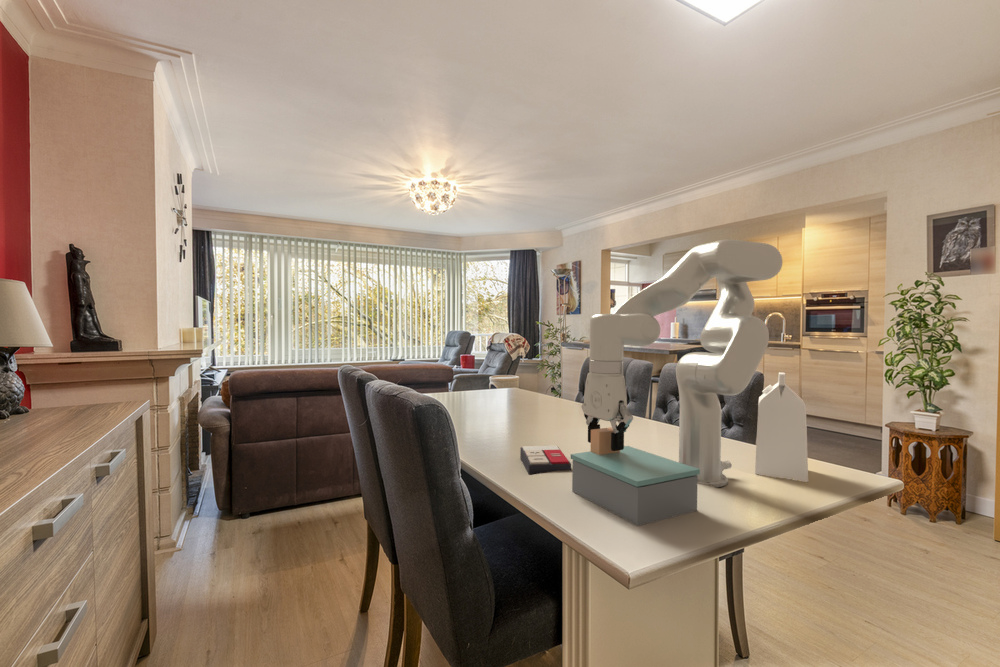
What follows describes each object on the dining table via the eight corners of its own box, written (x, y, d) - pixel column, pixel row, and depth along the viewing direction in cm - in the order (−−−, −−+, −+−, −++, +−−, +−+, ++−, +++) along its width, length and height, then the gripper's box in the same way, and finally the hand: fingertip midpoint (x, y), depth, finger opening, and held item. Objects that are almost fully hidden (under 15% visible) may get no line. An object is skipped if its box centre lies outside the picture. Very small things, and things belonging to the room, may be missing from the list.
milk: (808, 482, 115) (810, 376, 114) (754, 474, 120) (756, 374, 120) (804, 469, 125) (806, 372, 125) (755, 462, 131) (757, 370, 130)
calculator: (529, 462, 118) (520, 444, 133) (529, 478, 118) (520, 459, 133) (571, 461, 119) (558, 443, 134) (571, 477, 119) (557, 458, 134)
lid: (627, 450, 111) (628, 425, 111) (699, 474, 93) (700, 444, 93) (570, 458, 104) (570, 431, 103) (636, 486, 85) (637, 454, 85)
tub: (626, 485, 111) (627, 451, 111) (697, 515, 93) (697, 475, 93) (572, 495, 104) (572, 460, 104) (637, 531, 86) (637, 487, 86)
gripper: (569, 365, 112) (569, 439, 112) (620, 372, 96) (619, 457, 96) (594, 364, 115) (593, 436, 115) (646, 371, 100) (645, 453, 100)
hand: (605, 445), depth 106 cm, fingers open, 7 cm apart
